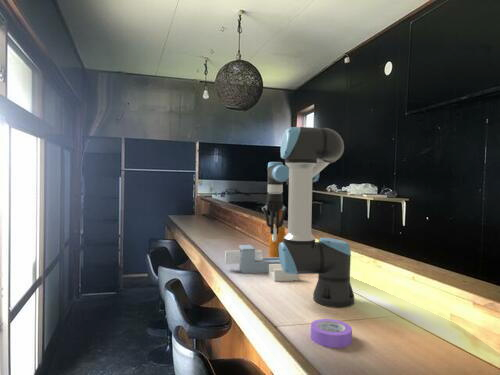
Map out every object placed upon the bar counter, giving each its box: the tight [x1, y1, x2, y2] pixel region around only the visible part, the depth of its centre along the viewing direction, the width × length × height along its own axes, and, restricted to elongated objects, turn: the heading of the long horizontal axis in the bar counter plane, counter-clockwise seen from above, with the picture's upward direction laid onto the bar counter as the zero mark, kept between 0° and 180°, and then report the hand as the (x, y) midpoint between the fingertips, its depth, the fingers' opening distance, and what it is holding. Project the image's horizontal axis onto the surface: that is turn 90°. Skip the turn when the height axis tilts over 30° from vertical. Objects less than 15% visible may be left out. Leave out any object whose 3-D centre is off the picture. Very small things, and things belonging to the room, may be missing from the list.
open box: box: [238, 244, 281, 274], centre depth 185 cm, size 10×22×12 cm, turn 101°
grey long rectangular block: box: [224, 249, 264, 265], centre depth 184 cm, size 18×6×6 cm, turn 99°
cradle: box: [268, 264, 299, 282], centre depth 172 cm, size 11×11×5 cm
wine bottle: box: [268, 208, 287, 258], centre depth 202 cm, size 10×10×30 cm
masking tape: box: [310, 318, 353, 349], centre depth 108 cm, size 12×12×4 cm
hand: (274, 240), depth 186 cm, fingers closed
